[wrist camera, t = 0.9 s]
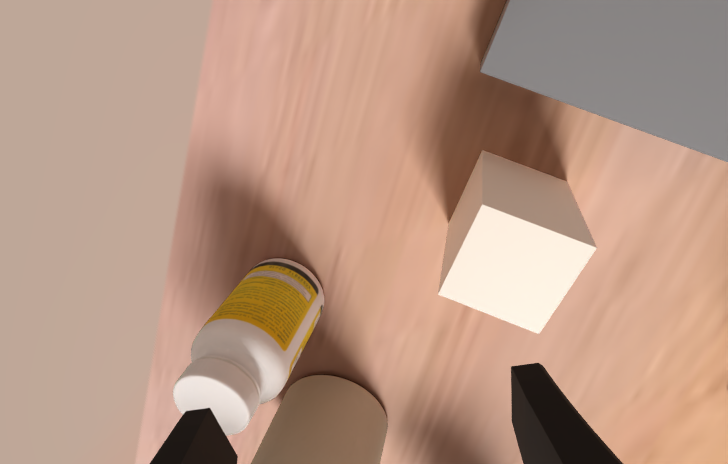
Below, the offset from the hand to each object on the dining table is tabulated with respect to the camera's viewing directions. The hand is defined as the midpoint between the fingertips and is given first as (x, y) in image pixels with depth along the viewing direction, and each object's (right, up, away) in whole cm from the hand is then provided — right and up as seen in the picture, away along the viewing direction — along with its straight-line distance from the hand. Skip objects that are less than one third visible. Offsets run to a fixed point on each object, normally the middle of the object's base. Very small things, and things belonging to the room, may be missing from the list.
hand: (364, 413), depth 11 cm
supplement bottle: (-5, +1, +19) cm, 20 cm away
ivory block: (+7, +6, +13) cm, 16 cm away
